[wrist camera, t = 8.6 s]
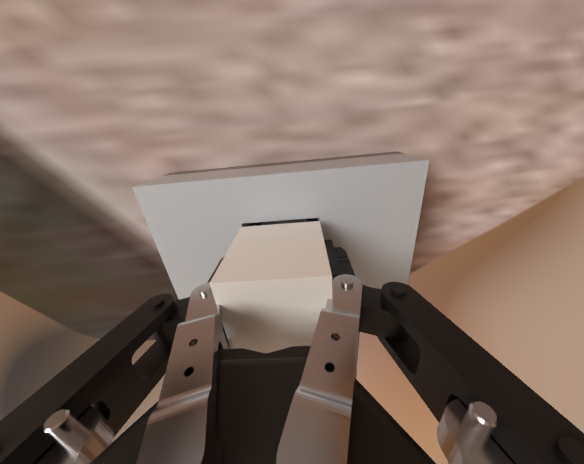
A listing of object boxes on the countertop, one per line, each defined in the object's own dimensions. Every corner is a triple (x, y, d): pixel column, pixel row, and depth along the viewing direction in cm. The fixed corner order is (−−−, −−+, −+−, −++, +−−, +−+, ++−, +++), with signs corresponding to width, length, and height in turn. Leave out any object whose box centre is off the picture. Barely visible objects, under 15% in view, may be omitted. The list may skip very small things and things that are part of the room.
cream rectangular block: (316, 206, 14) (332, 276, 8) (319, 262, 16) (333, 357, 10) (250, 211, 15) (209, 283, 8) (260, 266, 17) (234, 361, 10)
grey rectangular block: (397, 151, 15) (429, 159, 11) (384, 272, 19) (404, 306, 15) (170, 173, 16) (131, 186, 12) (206, 283, 20) (186, 317, 16)
